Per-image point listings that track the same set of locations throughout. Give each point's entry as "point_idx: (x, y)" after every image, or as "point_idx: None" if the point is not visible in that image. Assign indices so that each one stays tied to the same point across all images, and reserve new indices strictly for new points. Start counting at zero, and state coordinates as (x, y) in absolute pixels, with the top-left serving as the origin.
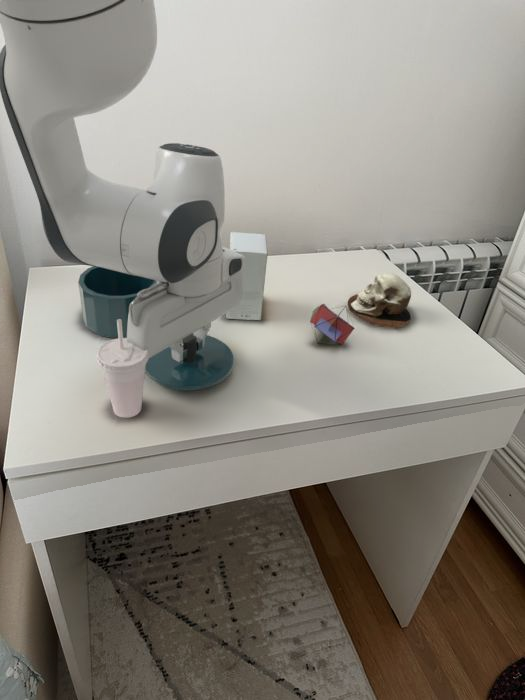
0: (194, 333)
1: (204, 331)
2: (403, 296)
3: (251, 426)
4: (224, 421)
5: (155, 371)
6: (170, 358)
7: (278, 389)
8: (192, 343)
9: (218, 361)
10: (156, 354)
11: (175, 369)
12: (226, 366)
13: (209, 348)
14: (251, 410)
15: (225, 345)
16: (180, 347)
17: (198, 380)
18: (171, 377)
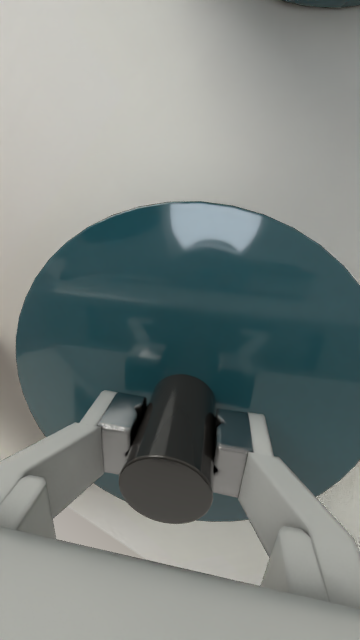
0: (255, 466)
1: (270, 547)
2: None
3: (126, 544)
4: (100, 507)
5: (40, 354)
6: (133, 351)
7: (264, 558)
8: (149, 513)
9: None
10: (112, 289)
11: None
12: (225, 508)
13: (288, 432)
14: (163, 534)
15: (345, 469)
16: (61, 506)
17: (112, 474)
18: (61, 411)
